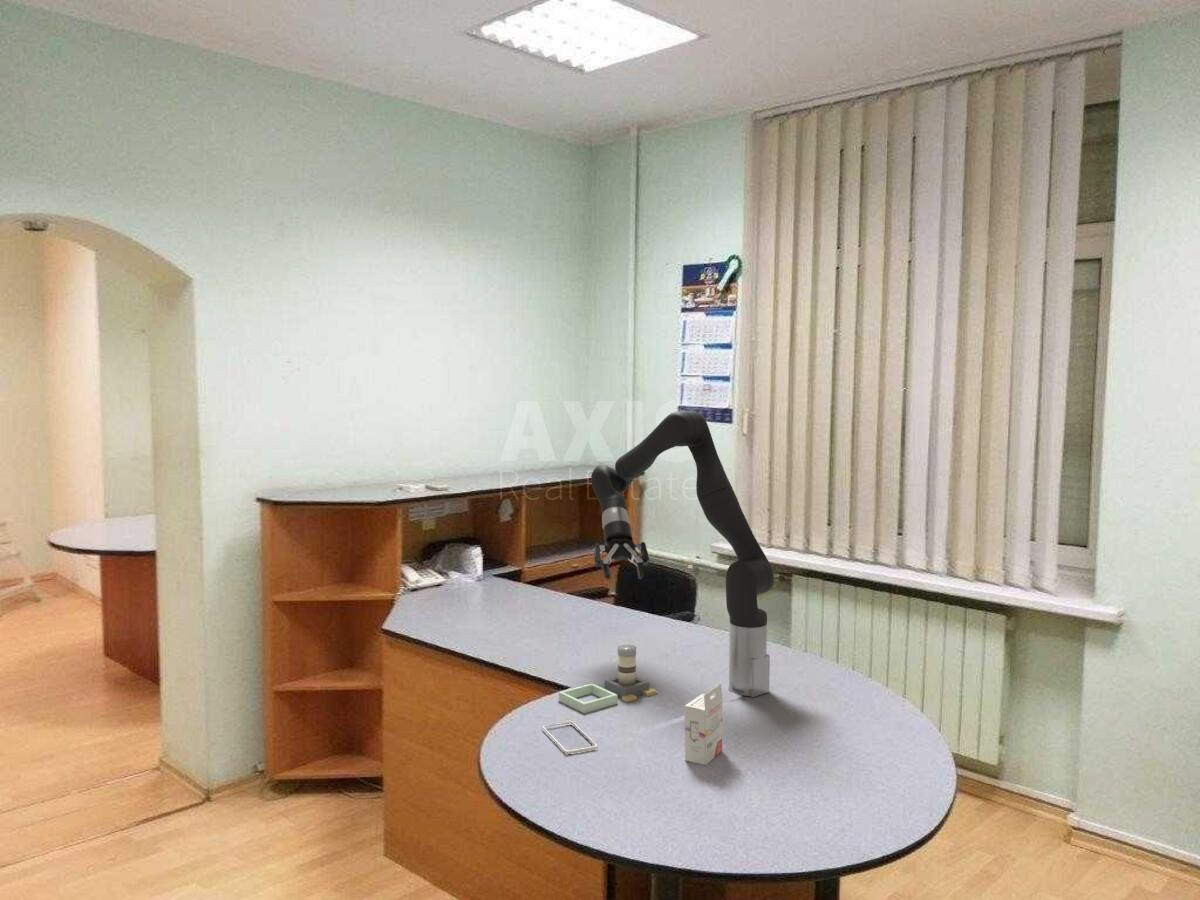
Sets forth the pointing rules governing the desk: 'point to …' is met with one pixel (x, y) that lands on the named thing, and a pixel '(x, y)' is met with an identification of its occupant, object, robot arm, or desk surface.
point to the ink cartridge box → (704, 727)
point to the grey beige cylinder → (626, 665)
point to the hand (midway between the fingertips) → (624, 578)
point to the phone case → (575, 749)
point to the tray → (584, 707)
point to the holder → (629, 689)
